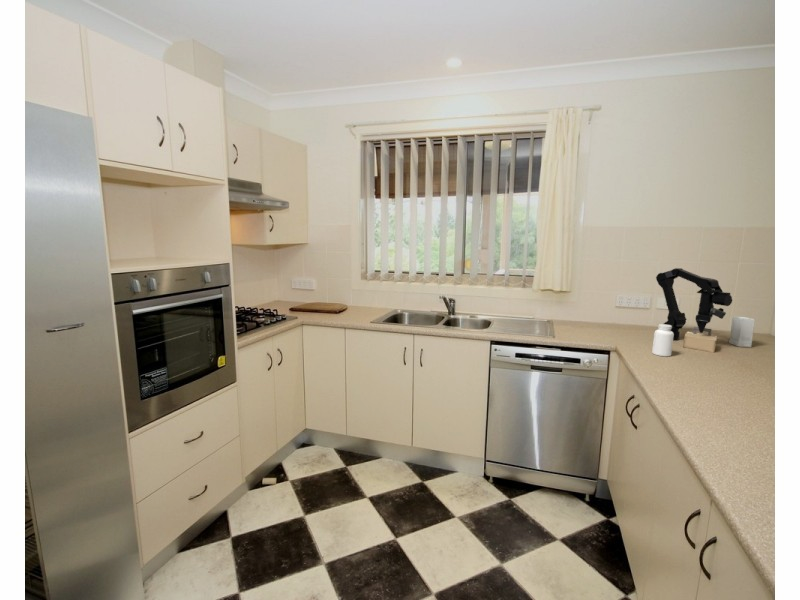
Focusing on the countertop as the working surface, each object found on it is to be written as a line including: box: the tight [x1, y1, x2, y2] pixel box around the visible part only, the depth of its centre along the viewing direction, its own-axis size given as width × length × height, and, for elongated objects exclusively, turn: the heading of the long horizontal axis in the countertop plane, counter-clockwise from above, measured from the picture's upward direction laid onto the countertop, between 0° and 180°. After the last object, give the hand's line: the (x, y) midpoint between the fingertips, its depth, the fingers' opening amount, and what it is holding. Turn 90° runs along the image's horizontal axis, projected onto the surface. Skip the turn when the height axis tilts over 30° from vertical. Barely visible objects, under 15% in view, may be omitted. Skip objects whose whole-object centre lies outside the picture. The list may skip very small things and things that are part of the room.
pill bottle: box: [651, 323, 674, 357], centre depth 192 cm, size 8×8×15 cm
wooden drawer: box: [682, 335, 718, 353], centre depth 207 cm, size 13×11×6 cm
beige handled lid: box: [684, 326, 718, 342], centre depth 206 cm, size 13×11×4 cm
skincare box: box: [728, 315, 756, 348], centre depth 213 cm, size 8×7×16 cm
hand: (701, 331), depth 209 cm, fingers open, 9 cm apart
